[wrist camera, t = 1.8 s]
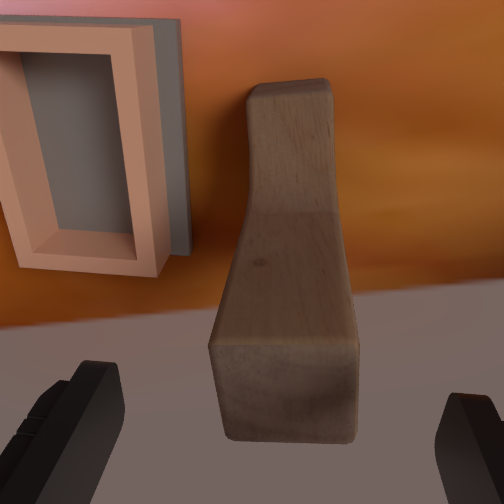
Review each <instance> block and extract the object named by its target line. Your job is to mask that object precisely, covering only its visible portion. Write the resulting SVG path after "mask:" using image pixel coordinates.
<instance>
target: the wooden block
mask: <svg viewBox="0 0 504 504" xmlns="http://www.w3.org/2000/svg"><path fill="white" fill-rule="evenodd" d="M246 116H247V129H248V142H249V194H248V201H247V208H246V215H245V218H244V222H243V225H242V229H241V232H240V236H239V239H238V243H237V246H236V250H235V253H234V257H233V260H232V263H231V267H230V270H229V274H228V277H227V281H226V284H225V288H224V291H223V295H222V298H221V302H220V305H219V309H218V312H217V316H216V319H215V323H214V326H213V329H212V333H211V336H210V340H209V343H208V349H209V355H210V360H211V365H212V370H213V376H214V380H215V386H216V391H217V397H218V401H219V407H220V412H221V417H222V423H223V427H224V431H225V435H226V436H227V438H228V439H231V440H233V441H251V442H284V443H319V444H320V443H321V444H348V443H351V442H353V441H354V439H355V436H356V434H357V429H358V428H357V427H358V425H357V424H358V391H359V355H360V344H359V338H358V331H357V324H356V318H355V311H354V305H353V299H352V292H351V286H350V279H349V273H348V267H347V260H346V254H345V247H344V241H343V234H342V228H341V222H340V215H339V208H338V198H337V187H336V169H335V149H334V96H333V93H332V90H331V86H330V83H329V81H328V80H327V79H324V78H319V79H307V80H296V81H285V82H273V83H262V84H258V85H256V86H255V87H254V88H253V90H252V91H251V93H250V94H249V96H248V98H247V101H246Z"/></svg>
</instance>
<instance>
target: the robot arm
mask: <svg viewBox="0 0 504 504" xmlns="http://www.w3.org/2000/svg"><path fill="white" fill-rule="evenodd" d="M124 413H125V404H124V398H123V393H122V387H121V383H120V376H119V371H118V367H117V364H116V363H112V362H101V361H90V360H85V361H83V362H82V363H81V364H80V365H79V367H78V368H77V370H76V372H75V373H74V375H73V376H72V378H71V380H70V381H64V380H59V381H58V382H56V383H55V384H54V385H53V386H52V387H50V388H49V389H48V390H47V391H45V392H44V393H43V394H42V395H41V396H40V397H39V398H38V400H37V401H36V403H35V404H34V406H33V407H32V409H31V410H30V412H29V413H28V415H27V419H24V421H23V422H22V424H21V425H20V427H19V428H18V430H17V434H16V435H14V436H13V437H12V439H11V440H10V442H9V443H8V445H7V446H6V448H5V449H4V451H3V452H2V454H1V455H0V504H90V502H91V499H92V497H93V495H94V492H95V490H96V488H97V485H98V483H99V481H100V478H101V476H102V474H103V471H104V469H105V466H106V464H107V462H108V459H109V457H110V455H111V452H112V450H113V447H114V445H115V443H116V441H117V438H118V436H119V433H120V431H121V428H122V425H123V421H124ZM435 457H436V462H437V466H438V469H439V472H440V476H441V479H442V482H443V486H444V489H445V493H446V496H447V500H448V503H449V504H504V421H501V419H500V417H499V415H498V413H497V410H496V408H495V406H494V404H493V402H492V401H491V399H490V398H489V397H488V396H486V395H476V394H464V393H451V394H450V395H449V398H448V400H447V403H446V406H445V409H444V412H443V415H442V418H441V421H440V424H439V427H438V430H437V433H436V437H435Z"/></svg>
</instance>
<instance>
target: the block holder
mask: <svg viewBox="0 0 504 504" xmlns="http://www.w3.org/2000/svg"><path fill="white" fill-rule="evenodd" d="M0 201H1V205H2V208H3V212H4V215H5V218H6V222H7V225H8V229H9V232H10V236H11V239H12V243H13V246H14V250H15V253H16V257H17V260H18V264H19V267H23V268H36V269H49V270H62V271H75V272H89V273H102V274H115V275H128V276H141V277H154V278H157V277H158V276H159V274H160V272H161V270H162V268H163V266H164V265H165V263H166V261H167V259H168V257H169V255H180V256H190V255H191V252H192V250H193V242H192V224H191V206H190V188H189V171H188V153H187V135H186V117H185V99H184V81H183V63H182V45H181V27H180V19H159V18H119V17H79V16H39V15H0Z"/></svg>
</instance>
